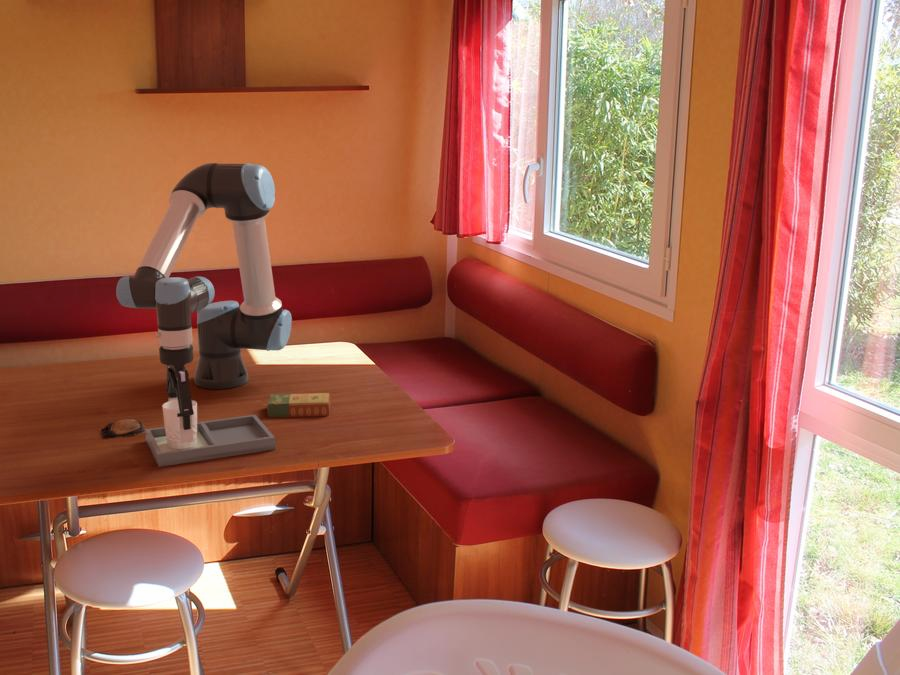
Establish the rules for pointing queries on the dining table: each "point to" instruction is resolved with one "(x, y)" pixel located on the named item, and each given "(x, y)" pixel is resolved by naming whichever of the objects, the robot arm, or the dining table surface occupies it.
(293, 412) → the carton
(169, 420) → the white cup
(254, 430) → the gray divided tray
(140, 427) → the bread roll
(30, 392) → the dining table surface
